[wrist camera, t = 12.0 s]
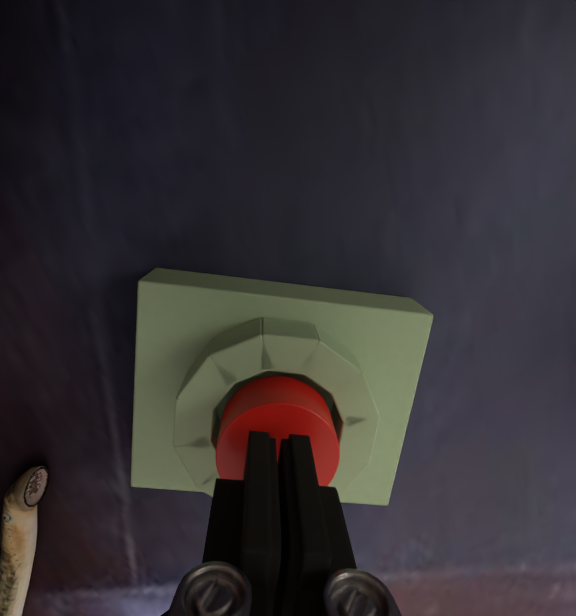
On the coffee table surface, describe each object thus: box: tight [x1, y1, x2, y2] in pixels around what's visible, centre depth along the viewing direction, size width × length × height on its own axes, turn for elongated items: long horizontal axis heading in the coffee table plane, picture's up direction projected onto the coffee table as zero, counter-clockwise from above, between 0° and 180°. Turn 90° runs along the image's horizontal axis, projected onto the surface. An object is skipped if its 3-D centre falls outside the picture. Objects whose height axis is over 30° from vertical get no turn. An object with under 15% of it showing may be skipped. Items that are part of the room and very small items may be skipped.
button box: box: [131, 268, 433, 506], centre depth 15 cm, size 8×10×4 cm
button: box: [215, 376, 340, 486], centre depth 13 cm, size 4×4×2 cm
